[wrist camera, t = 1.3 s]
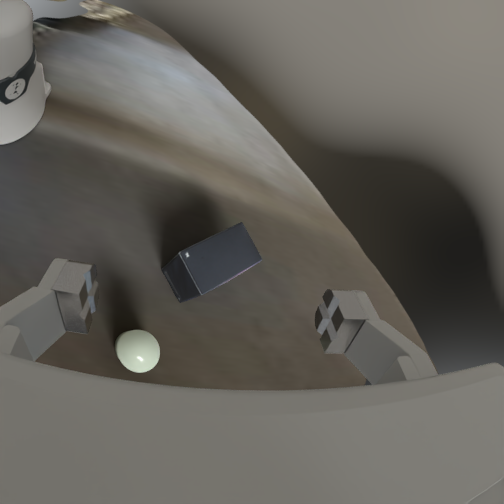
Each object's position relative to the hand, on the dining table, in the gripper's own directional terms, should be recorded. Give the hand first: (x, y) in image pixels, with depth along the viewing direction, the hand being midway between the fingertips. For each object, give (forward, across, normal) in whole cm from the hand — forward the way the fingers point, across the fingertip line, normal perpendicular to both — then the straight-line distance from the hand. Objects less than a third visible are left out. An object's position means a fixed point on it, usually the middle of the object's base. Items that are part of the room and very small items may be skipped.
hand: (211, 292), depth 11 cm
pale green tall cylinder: (+20, +8, +30) cm, 37 cm away
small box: (+32, -1, +24) cm, 40 cm away
